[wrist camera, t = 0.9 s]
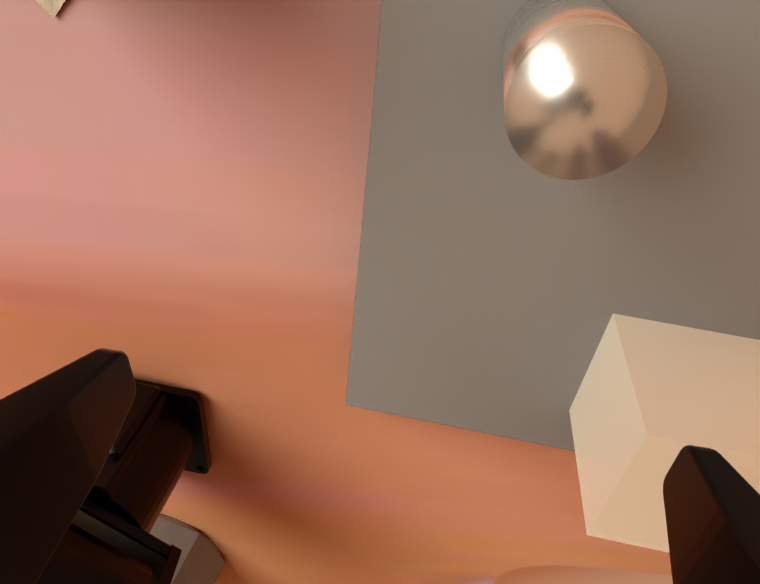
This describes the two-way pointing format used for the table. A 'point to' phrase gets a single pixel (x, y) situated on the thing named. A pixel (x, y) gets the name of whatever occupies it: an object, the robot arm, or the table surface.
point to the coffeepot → (189, 551)
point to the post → (579, 88)
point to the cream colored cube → (659, 419)
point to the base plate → (544, 219)
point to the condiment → (51, 6)
